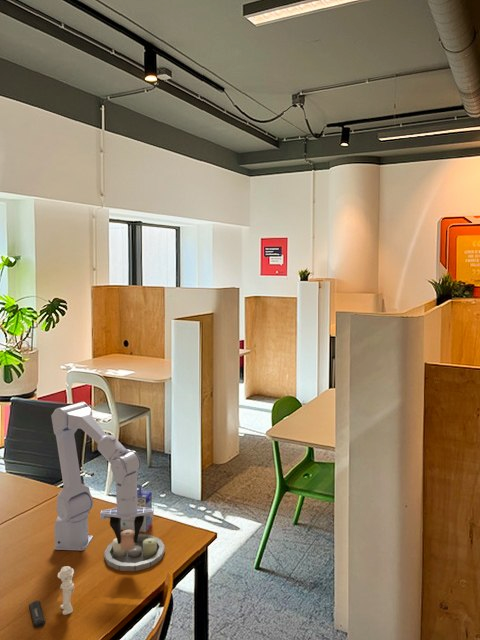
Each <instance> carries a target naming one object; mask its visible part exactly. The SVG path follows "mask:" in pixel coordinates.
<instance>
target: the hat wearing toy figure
mask: <svg viewBox="0 0 480 640" xmlns="http://www.w3.org/2000/svg"><path fill="white" fill-rule="evenodd" d="M74 573H75V570H74V568H72V567H71V566H69V565H67V566H65V565H64V566H61V569H60V571H59V572H58V573H57V578H58V579H60V580H61V584H60V587H59V588H60V590H62V603H63V604H60V606H59V607H60V609H61V610H62V612H61V613H62V615H64V616H66V615H69V614H72V613H73V611H74V610H73V606H72V605H71V600H72V599H71V597H72V594H74V588H75V583H74V582H73V577H74Z"/></svg>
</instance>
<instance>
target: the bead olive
mask: <svg viewBox="0 0 480 640" xmlns="http://www.w3.org/2000/svg"><path fill="white" fill-rule="evenodd" d="M156 554H157V541H156V539H153V538H148V539H145V540H144V541H143V556H144V557H145V558H151V557H153V556H154V555H156Z"/></svg>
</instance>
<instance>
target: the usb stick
mask: <svg viewBox="0 0 480 640" xmlns="http://www.w3.org/2000/svg"><path fill="white" fill-rule="evenodd" d="M28 606H29V611H30V615H31V619H32V623H33V626H34V628H35V629H38V628H41V627H44V626H45V625H46V620H45V616H44V612H43V609H42V606H41V602H40V601H39V600H35V601H32V602H30V603H29V605H28Z"/></svg>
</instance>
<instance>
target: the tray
mask: <svg viewBox="0 0 480 640" xmlns="http://www.w3.org/2000/svg"><path fill="white" fill-rule="evenodd" d="M148 538H153V539H156V541H157V554H156V555H154V556H153V557H151V558H145V557H144V556H143V541H144V540H145V539H148ZM165 552H166V545H165V544H164V542H163V541H162V539H161V538H159V537H157V536H154V535H151V534H145V533H143V534H142V533H139V534H138V541H137V543H135V547H134V548H133V549H132V550H127V554H126V555H125V556H122V557H115V556H114V555H113V541H112V542H110V543H109V544H108V545H107V547H106V549H105V550H104V552H103V554H104V557H103V558H104V560H105V562H106V564H107V566H108V567H111V568H112V569H114V570H117V571H119V572H120V571H121V572H136V571H141V570H142V571H143V570H145V569H149V568H151V567H154V566H155V565H156V564H158V562H160V561H162V559H163V557H164V555H165Z"/></svg>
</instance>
